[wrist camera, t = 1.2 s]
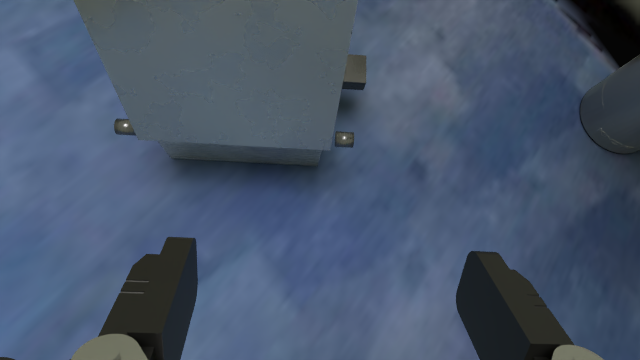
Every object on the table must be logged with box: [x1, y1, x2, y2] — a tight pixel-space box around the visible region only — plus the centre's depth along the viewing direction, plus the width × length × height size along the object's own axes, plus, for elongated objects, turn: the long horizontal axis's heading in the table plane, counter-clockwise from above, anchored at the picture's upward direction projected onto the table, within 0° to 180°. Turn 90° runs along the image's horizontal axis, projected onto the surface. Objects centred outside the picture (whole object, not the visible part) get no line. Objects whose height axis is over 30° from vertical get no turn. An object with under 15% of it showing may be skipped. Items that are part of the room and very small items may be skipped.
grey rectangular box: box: [114, 54, 366, 166], centre depth 47 cm, size 17×24×10 cm
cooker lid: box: [74, 0, 358, 150], centre depth 32 cm, size 20×17×1 cm
